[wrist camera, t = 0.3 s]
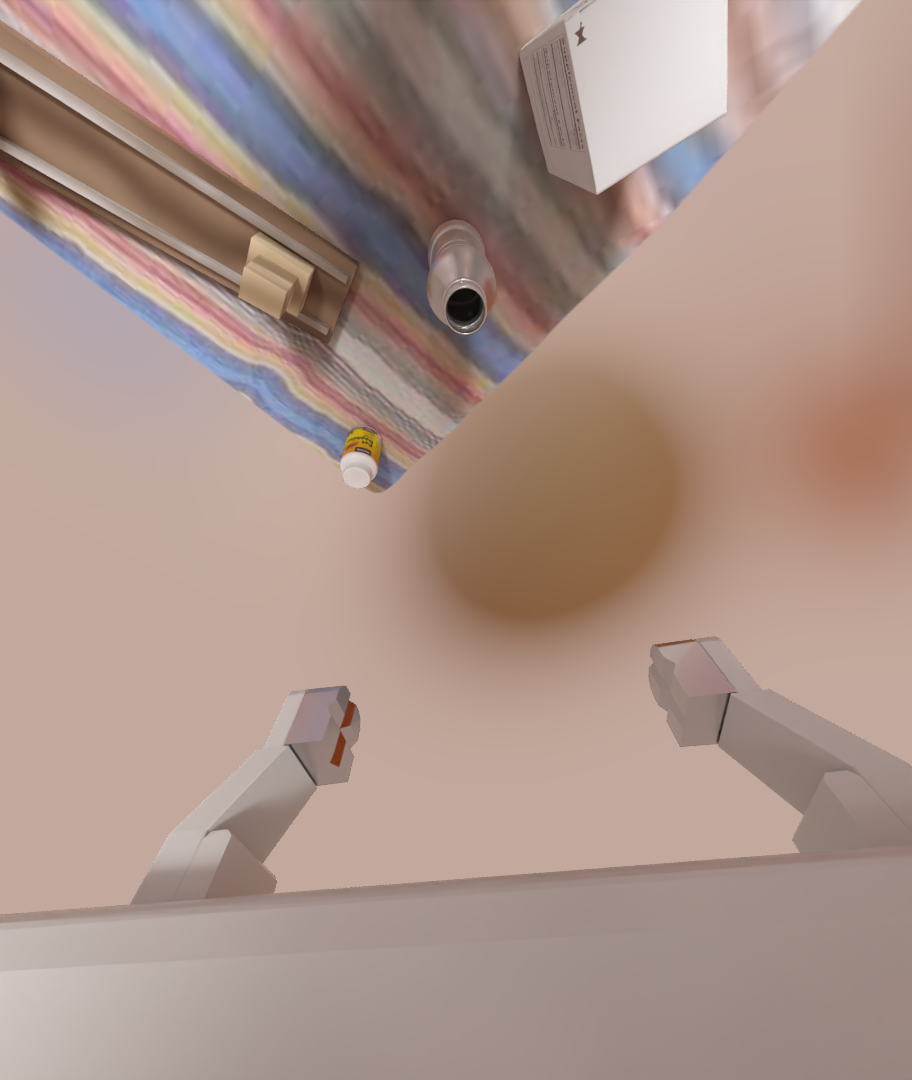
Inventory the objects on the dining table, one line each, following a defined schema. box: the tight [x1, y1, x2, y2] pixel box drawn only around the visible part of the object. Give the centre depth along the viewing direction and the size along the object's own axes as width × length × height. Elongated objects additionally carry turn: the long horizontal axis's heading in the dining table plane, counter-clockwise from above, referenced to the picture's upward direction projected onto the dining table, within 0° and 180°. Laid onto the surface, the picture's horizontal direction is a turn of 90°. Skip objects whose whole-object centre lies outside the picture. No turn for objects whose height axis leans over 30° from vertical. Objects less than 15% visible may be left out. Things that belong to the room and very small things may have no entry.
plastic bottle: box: [427, 219, 497, 335], centre depth 38 cm, size 6×7×20 cm
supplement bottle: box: [340, 426, 382, 489], centre depth 60 cm, size 6×6×10 cm
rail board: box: [0, 20, 359, 343], centre depth 39 cm, size 10×35×6 cm, turn 57°
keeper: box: [238, 232, 315, 320], centre depth 42 cm, size 5×6×8 cm
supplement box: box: [519, 0, 728, 195], centre depth 30 cm, size 10×9×17 cm
